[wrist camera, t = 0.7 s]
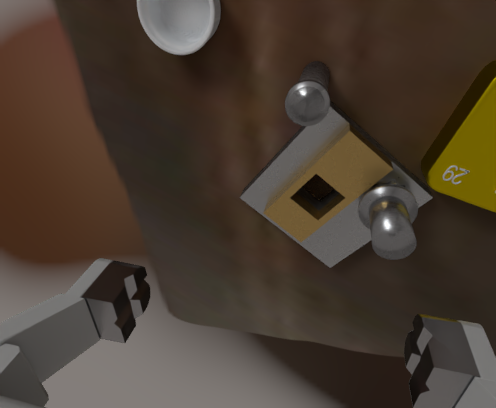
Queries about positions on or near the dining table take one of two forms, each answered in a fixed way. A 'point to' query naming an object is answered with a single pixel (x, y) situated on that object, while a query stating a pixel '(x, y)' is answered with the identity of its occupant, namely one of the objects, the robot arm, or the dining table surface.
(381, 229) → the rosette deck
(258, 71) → the dining table surface
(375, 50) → the dining table surface
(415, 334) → the robot arm
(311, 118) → the steel pin
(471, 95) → the element tile
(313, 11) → the dining table surface
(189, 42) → the ramekin
